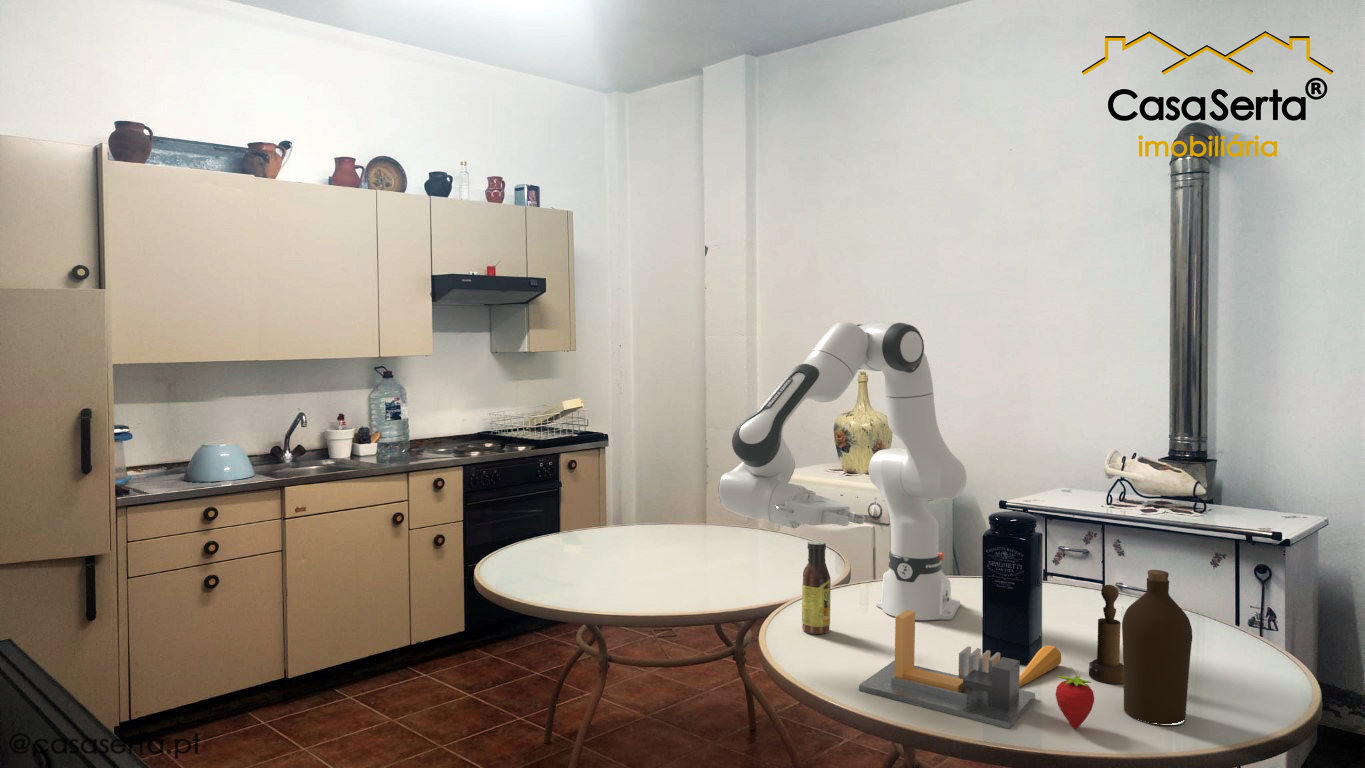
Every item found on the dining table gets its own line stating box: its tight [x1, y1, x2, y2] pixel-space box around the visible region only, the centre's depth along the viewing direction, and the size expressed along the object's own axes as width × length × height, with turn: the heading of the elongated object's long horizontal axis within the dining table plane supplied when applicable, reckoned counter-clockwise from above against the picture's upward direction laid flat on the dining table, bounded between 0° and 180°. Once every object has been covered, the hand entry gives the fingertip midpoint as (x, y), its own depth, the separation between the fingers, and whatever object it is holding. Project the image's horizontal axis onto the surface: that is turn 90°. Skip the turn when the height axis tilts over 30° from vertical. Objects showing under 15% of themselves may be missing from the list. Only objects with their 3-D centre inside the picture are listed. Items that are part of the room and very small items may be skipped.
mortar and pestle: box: [1088, 584, 1124, 685], centre depth 167 cm, size 7×6×18 cm
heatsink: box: [858, 645, 1036, 729], centre depth 159 cm, size 16×27×8 cm, turn 54°
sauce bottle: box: [801, 540, 832, 635], centre depth 194 cm, size 7×6×20 cm
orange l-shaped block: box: [894, 610, 965, 693], centre depth 161 cm, size 6×12×12 cm, turn 54°
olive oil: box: [1121, 569, 1193, 724], centre depth 150 cm, size 11×11×25 cm
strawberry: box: [1054, 666, 1095, 729], centre depth 145 cm, size 6×8×10 cm
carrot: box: [1019, 644, 1062, 688], centre depth 168 cm, size 20×4×4 cm, turn 136°
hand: (855, 521), depth 171 cm, fingers open, 8 cm apart
